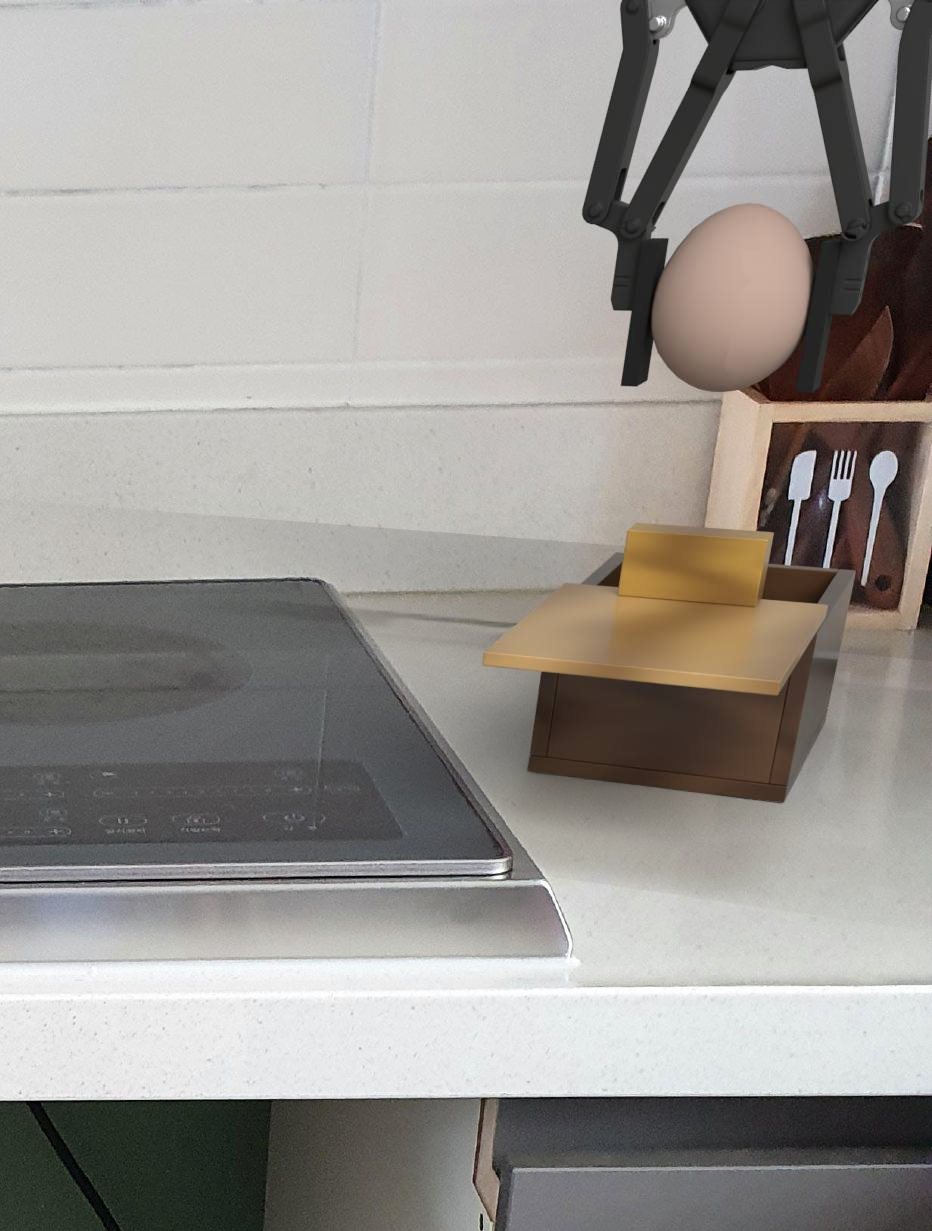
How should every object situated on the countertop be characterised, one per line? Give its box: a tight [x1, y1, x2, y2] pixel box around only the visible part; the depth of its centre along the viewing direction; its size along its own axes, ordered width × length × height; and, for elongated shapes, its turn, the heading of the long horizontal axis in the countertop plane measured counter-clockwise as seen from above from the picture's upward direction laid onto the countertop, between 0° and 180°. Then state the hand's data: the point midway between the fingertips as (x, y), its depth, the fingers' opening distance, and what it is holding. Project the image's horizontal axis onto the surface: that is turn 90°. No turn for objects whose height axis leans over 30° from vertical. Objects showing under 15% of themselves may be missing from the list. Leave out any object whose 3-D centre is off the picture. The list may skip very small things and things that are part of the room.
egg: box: [651, 202, 816, 393], centre depth 100 cm, size 7×7×8 cm
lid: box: [482, 522, 828, 696], centre depth 91 cm, size 12×16×4 cm
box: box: [526, 551, 857, 803], centre depth 104 cm, size 12×16×8 cm
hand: (719, 385), depth 101 cm, fingers closed on egg, 7 cm apart
